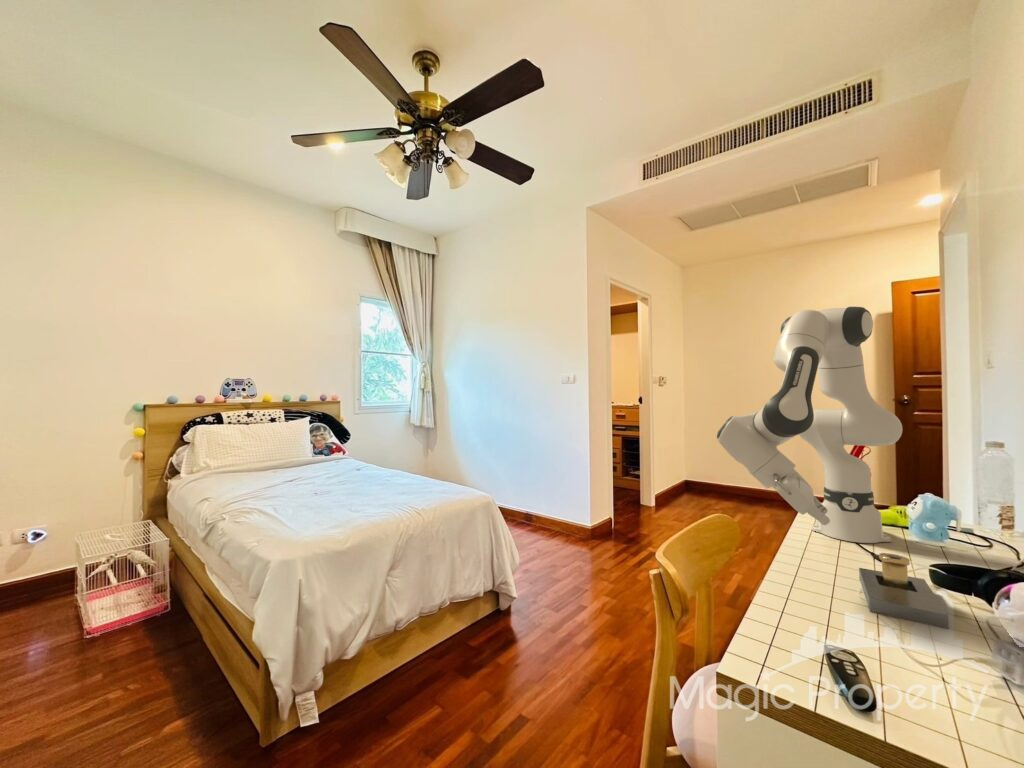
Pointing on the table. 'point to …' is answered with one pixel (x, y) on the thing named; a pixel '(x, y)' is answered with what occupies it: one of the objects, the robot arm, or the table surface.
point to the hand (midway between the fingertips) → (826, 517)
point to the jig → (903, 599)
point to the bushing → (894, 570)
